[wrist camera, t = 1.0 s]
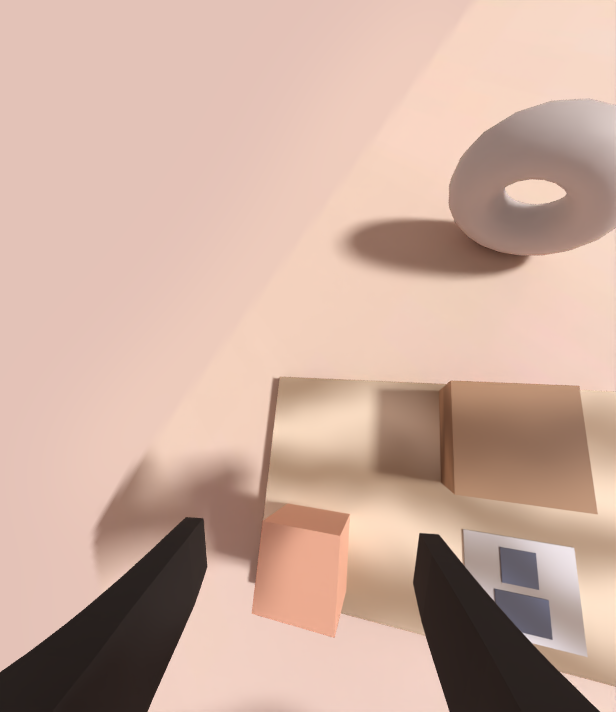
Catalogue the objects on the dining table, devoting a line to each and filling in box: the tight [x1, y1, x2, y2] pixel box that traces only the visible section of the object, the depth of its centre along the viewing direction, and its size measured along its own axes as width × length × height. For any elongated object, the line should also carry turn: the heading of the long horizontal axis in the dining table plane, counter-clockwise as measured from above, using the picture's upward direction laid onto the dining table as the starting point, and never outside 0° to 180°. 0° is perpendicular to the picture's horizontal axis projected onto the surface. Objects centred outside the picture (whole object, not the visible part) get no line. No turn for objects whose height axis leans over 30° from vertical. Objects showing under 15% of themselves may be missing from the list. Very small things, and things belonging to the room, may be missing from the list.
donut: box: [449, 99, 616, 255], centre depth 18 cm, size 10×4×10 cm, turn 62°
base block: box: [439, 381, 598, 515], centre depth 17 cm, size 6×6×4 cm
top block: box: [252, 504, 350, 637], centre depth 17 cm, size 4×4×4 cm
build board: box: [263, 377, 616, 687], centre depth 19 cm, size 15×22×1 cm
